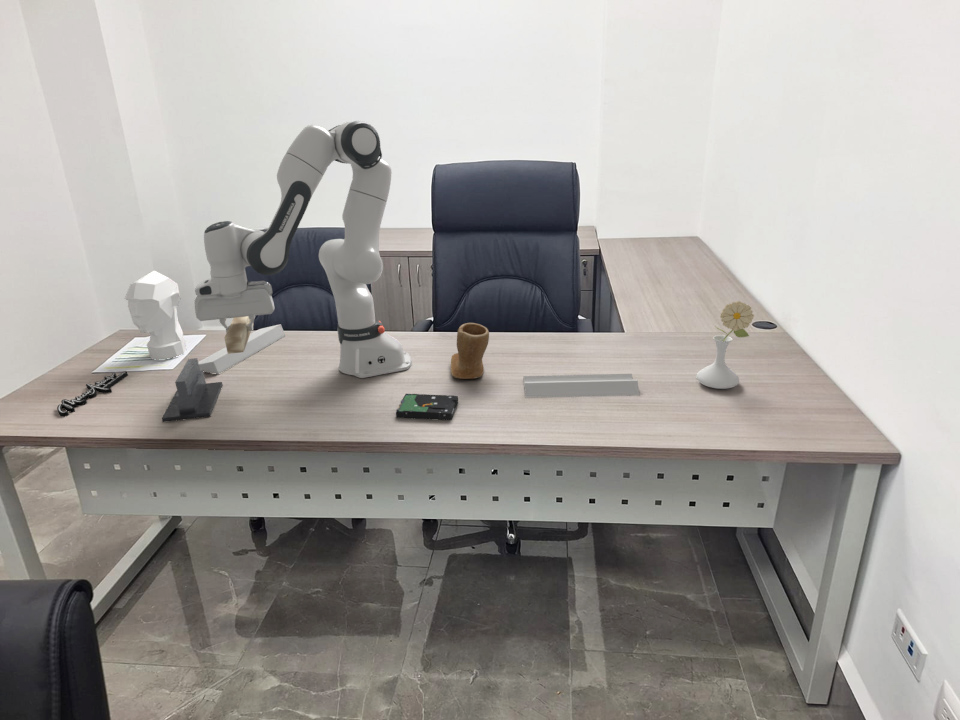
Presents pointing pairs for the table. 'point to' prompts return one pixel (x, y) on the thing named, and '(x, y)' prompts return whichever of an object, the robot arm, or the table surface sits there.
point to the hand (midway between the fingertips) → (240, 331)
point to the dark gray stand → (192, 395)
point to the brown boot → (469, 351)
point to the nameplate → (90, 393)
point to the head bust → (157, 314)
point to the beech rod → (237, 335)
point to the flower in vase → (719, 372)
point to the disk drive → (427, 406)
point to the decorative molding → (255, 343)
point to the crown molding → (580, 385)
